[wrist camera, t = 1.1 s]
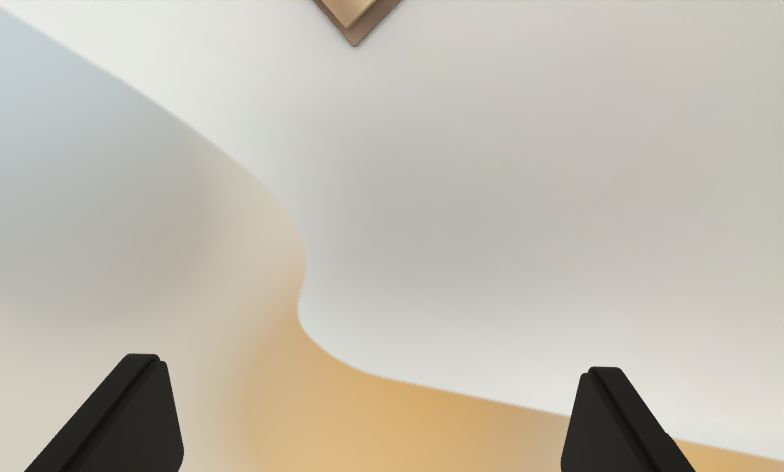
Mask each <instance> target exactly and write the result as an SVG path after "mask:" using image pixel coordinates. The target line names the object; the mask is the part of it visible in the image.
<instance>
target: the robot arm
mask: <svg viewBox="0 0 784 472" xmlns="http://www.w3.org/2000/svg"><path fill="white" fill-rule="evenodd" d="M183 456H184V447H183V443H182V437H181V432H180V428H179V422H178V417H177V412H176V407H175V402H174V397H173V392H172V387H171V383H170V377H169V372H168V368H167V364H166V363H165V362H164V361H160V359H159V357H158V356H157V355H155V354H127V355H126V356H125V357H124V358H123V359H122V360H121V361H120V362H119V363H118V365H117V366H116V367H115V368H114V369H113V370H112V372H111V373H110V374H109V375H108V376H107V377H106V378H105V380H104V381H103V382H102V383H101V384H100V385H99V386H98V388H97V389H96V390H95V391H94V392H93V393H92V394H91V396H90V397H89V398H88V399H87V400H86V401H85V402H84V404H83V405H82V406H81V407H80V408H79V409H78V410H77V412H76V413H75V414H74V415H73V416H72V417H71V418H70V420H69V421H68V422H67V423H66V424H65V425H64V427H63V428H62V429H61V430H60V431H59V432H58V433H57V435H56V436H55V437H54V438H53V439H52V440H51V441H50V443H49V444H48V445H47V446H46V447H45V448H44V449H43V451H42V452H41V453H40V454H39V455H38V456H37V458H36V459H35V460H34V461H33V462H32V463H31V464H30V465H29V467H28V468H27V469H26V470H25V471H24V472H178V471H179V468H180V466H181V464H182V460H183ZM561 471H562V472H696V471H695V470H694V469H693V467H692V466H691V464H690V463H689V462H688V460H687V459H686V457H685V456H684V455H683V453H682V452H681V450H680V449H679V447H678V446H677V445H676V443H675V442H674V440H673V439H672V438H671V437H670V436H669V435H668V434H667V433H665V431H664V430H663V428H662V427H661V425H660V424H659V423H658V421H657V420H656V418H655V417H654V415H653V414H652V413H651V411H650V410H649V408H648V407H647V405H646V404H645V403H644V401H643V400H642V398H641V397H640V395H639V394H638V393H637V391H636V390H635V388H634V387H633V385H632V384H631V383H630V381H629V380H628V378H627V377H626V375H625V374H624V373H623V371H622V370H621V369H620V368H617V367H591V368H590V369H589V371H588V373H583V374H582V375H581V377H580V381H579V385H578V389H577V394H576V398H575V402H574V406H573V410H572V415H571V419H570V423H569V427H568V432H567V436H566V440H565V445H564V448H563V453H562V457H561Z"/></svg>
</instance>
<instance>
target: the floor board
mask: <svg viewBox="0 0 784 472" xmlns="http://www.w3.org/2000/svg"><path fill="white" fill-rule="evenodd" d="M314 1H315V3H316V4H317V5H318V6H319V7H320V8H321V10H322V11H323V12H324V13H325V14H326V15H327V16H328V18H329V19H330V20H331V21H332V22H333V23H334V25H335V26H336V27H337V28H338V29H339V30H340V31H341V33H342V34H343V35H344V36H345V37H346V38H347V40H348V41H349V42H350V43H351V44H352V45H353V46H354V47H356V46H357V45H358V44H359V43H360V42H361V41H362V40H363V39H364V38H365V36H366V35H367V34H368V33H369V32H370V31H371V30H372V29H373V28H374V27H375V26H376V25H377V24H378V23H379V22H380V21H381V20H382V19H383V18H384V17H385V16H386V15H387V14H388V13H389V12H390V11H391V10H392V9H393V8H394V7H395V6H396V5H397V4H398V3H399V2H400V1H401V0H314Z"/></svg>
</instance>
